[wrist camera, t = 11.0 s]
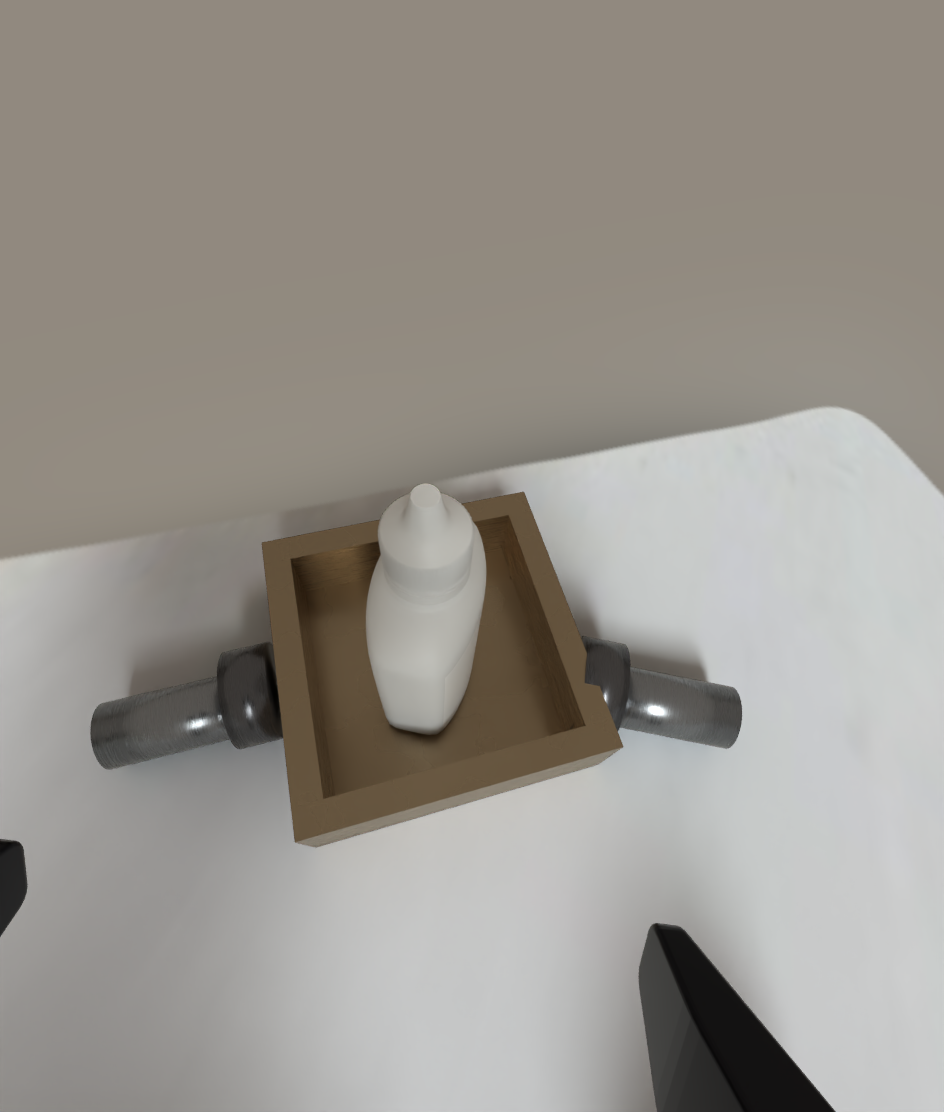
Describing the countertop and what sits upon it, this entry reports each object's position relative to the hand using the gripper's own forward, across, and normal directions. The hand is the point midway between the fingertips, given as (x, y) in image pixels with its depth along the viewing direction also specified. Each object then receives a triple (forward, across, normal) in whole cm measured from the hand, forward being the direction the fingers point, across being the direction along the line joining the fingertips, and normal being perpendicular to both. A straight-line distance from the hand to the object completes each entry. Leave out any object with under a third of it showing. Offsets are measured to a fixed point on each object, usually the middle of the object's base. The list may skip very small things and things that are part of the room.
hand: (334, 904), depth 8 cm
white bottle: (+15, 0, +4) cm, 15 cm away
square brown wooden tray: (+15, 0, +4) cm, 16 cm away
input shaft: (+13, +8, +6) cm, 17 cm away
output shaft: (+15, -9, +4) cm, 18 cm away
